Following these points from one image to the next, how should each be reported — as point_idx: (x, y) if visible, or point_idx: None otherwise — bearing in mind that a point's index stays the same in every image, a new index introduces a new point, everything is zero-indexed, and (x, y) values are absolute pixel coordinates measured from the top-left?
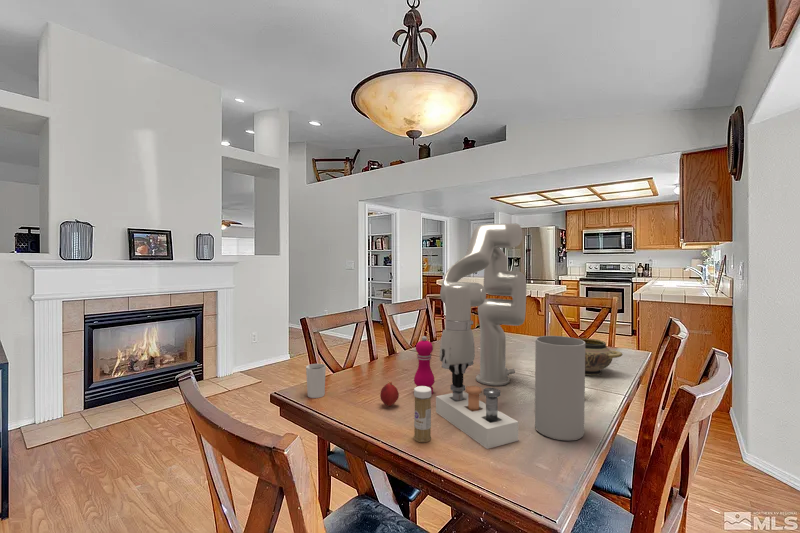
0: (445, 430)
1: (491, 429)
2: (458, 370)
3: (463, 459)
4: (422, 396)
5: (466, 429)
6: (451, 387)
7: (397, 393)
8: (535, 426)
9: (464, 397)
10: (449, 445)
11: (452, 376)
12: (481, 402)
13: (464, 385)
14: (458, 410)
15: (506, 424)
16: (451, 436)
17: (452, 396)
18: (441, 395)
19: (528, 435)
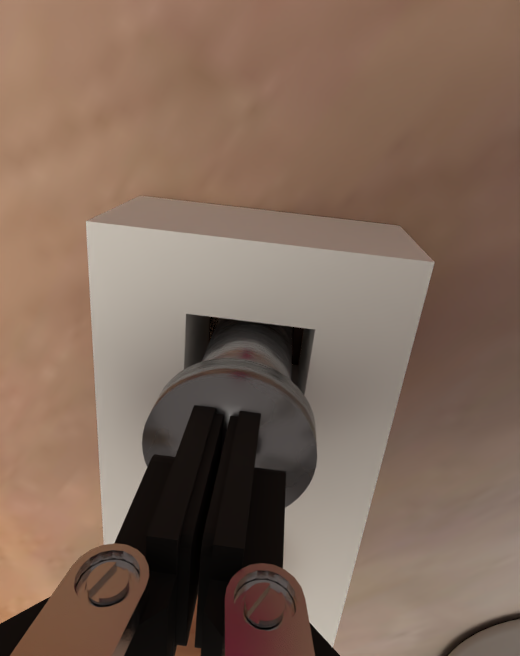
0: (64, 430)
1: None
2: (207, 642)
3: (15, 613)
4: None
5: None
6: (145, 433)
7: None
8: (468, 649)
9: (314, 391)
10: (12, 532)
11: (125, 524)
12: (349, 525)
13: (307, 480)
14: (104, 529)
15: None
16: (61, 487)
17: (232, 317)
18: (147, 239)
19: (387, 637)
